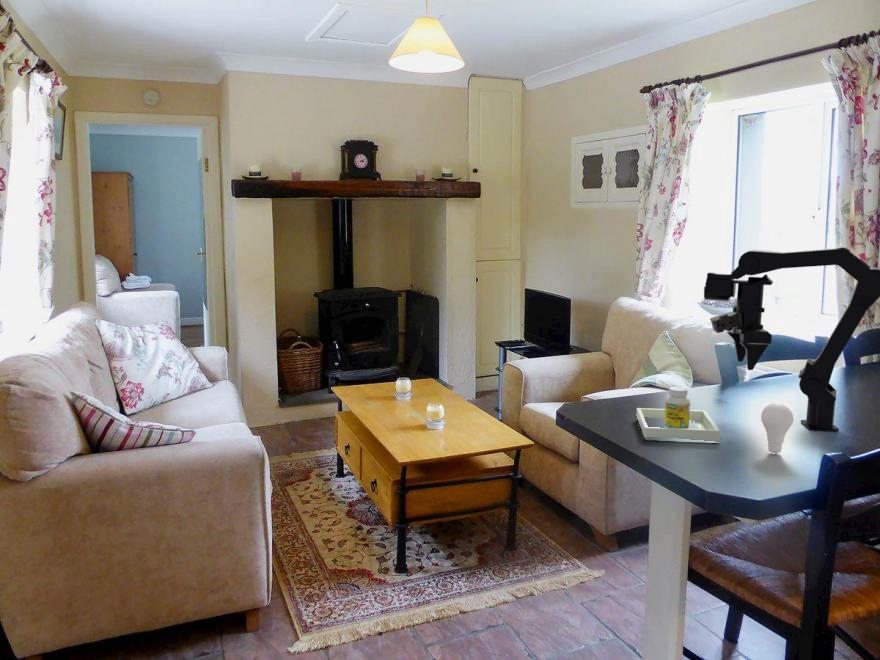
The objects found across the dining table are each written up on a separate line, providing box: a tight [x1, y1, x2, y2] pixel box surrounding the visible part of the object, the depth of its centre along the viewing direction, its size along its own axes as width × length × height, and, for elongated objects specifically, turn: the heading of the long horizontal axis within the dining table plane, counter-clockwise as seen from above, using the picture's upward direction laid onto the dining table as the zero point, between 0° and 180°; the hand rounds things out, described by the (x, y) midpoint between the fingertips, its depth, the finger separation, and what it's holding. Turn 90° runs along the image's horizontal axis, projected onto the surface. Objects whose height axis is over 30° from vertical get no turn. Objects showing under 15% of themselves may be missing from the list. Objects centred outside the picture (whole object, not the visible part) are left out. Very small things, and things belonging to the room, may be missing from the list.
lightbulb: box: [760, 402, 794, 454], centre depth 149 cm, size 6×6×11 cm
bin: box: [636, 407, 721, 443], centre depth 165 cm, size 16×16×3 cm
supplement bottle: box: [664, 386, 691, 429], centre depth 165 cm, size 5×5×10 cm
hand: (744, 365), depth 174 cm, fingers open, 9 cm apart
